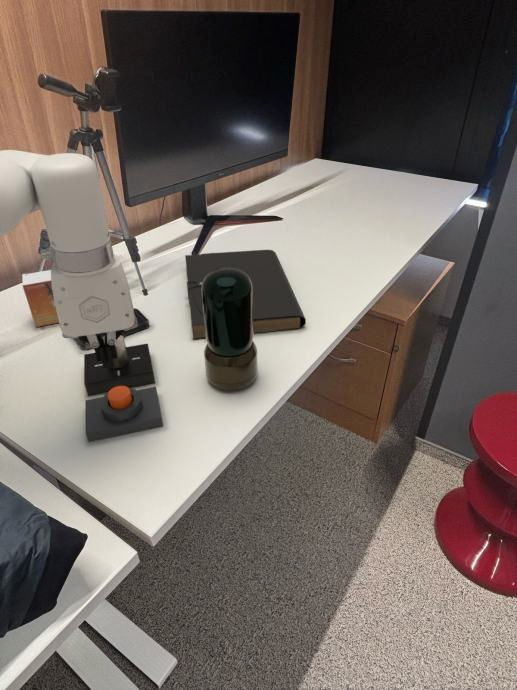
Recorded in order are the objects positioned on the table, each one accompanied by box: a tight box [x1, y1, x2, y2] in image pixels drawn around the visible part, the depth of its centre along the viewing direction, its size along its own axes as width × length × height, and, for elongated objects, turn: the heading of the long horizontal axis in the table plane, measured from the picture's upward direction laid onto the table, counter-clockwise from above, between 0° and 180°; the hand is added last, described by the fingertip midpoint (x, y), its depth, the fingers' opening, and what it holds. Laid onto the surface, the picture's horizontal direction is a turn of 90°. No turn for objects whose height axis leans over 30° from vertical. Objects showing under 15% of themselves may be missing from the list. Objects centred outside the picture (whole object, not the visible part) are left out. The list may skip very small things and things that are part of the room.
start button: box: [108, 386, 132, 409], centre depth 79 cm, size 4×4×2 cm
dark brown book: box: [184, 249, 307, 340], centre depth 113 cm, size 33×4×24 cm
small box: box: [21, 269, 59, 328], centre depth 104 cm, size 8×6×10 cm
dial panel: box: [83, 343, 156, 397], centre depth 90 cm, size 12×9×3 cm
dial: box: [103, 335, 129, 369], centre depth 88 cm, size 4×4×5 cm
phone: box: [73, 307, 150, 351], centre depth 103 cm, size 8×1×15 cm
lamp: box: [201, 267, 258, 391], centre depth 84 cm, size 10×10×22 cm
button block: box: [84, 386, 164, 443], centre depth 80 cm, size 12×8×4 cm, turn 106°
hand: (108, 362), depth 75 cm, fingers closed
